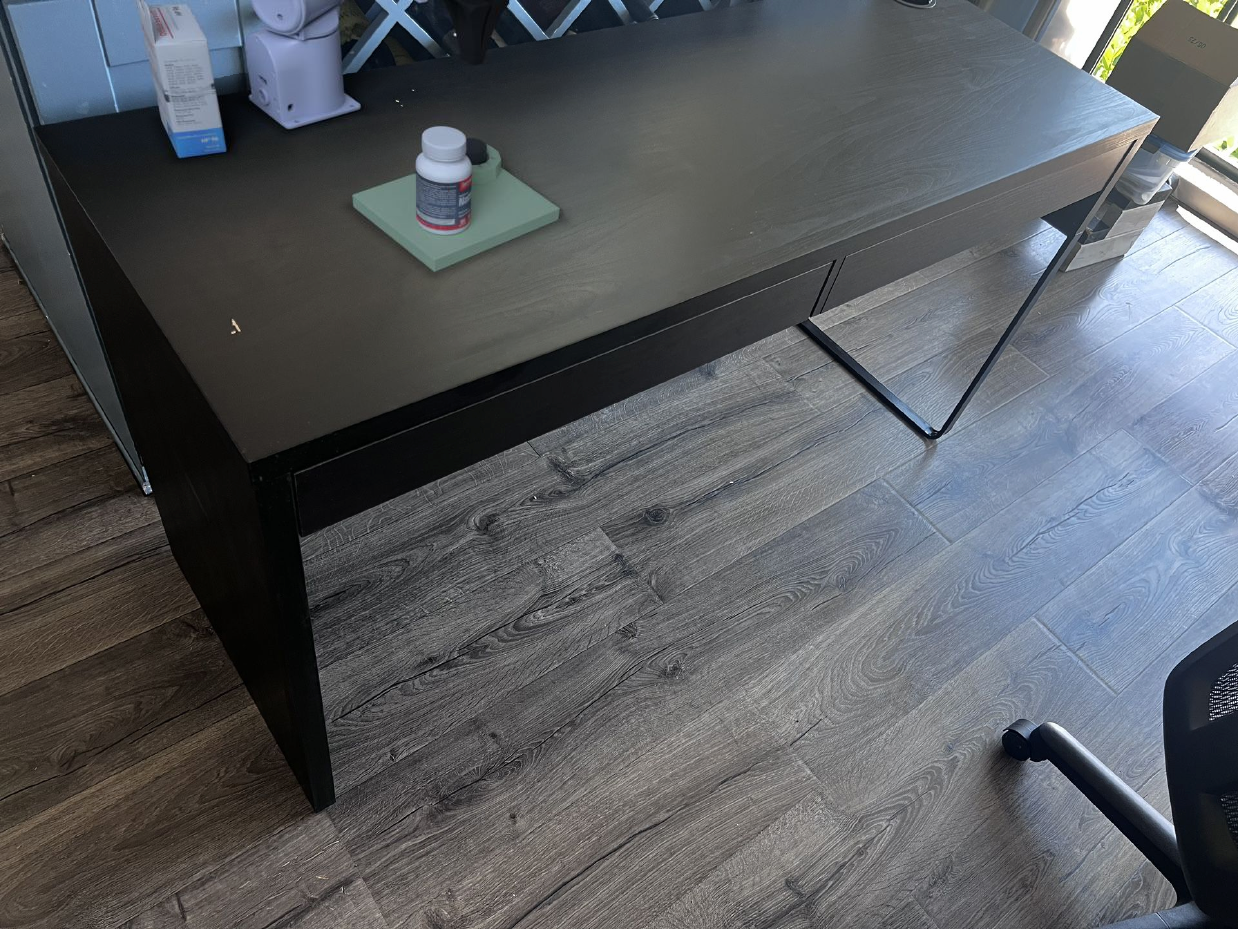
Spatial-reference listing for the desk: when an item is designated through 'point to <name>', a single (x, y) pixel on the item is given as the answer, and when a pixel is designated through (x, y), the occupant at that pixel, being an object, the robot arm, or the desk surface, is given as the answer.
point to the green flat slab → (494, 214)
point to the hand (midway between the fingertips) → (472, 60)
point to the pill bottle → (443, 182)
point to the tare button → (476, 151)
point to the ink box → (182, 78)
